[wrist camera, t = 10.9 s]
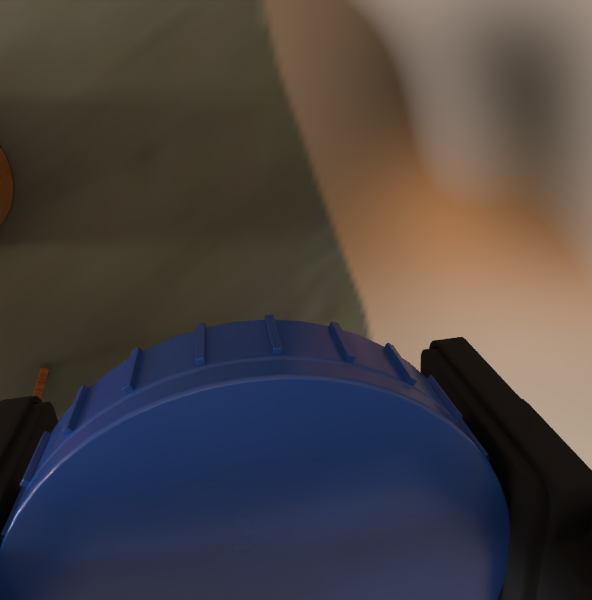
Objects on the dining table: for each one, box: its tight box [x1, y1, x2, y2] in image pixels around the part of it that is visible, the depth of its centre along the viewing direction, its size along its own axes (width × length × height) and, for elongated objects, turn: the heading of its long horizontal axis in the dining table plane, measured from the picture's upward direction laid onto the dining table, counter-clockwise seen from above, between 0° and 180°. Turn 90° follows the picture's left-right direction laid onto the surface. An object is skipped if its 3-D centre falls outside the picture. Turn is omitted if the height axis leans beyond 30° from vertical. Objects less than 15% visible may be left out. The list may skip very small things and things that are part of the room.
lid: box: [0, 315, 510, 600], centre depth 8 cm, size 7×7×2 cm
